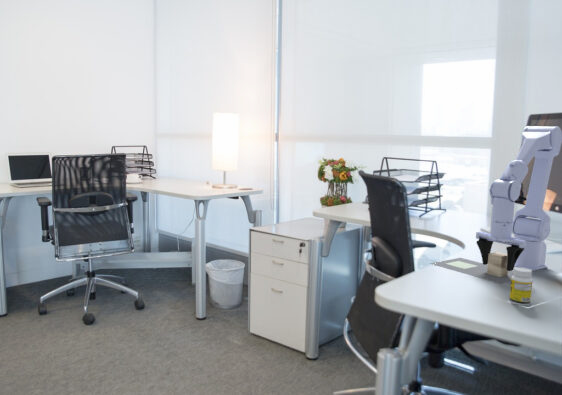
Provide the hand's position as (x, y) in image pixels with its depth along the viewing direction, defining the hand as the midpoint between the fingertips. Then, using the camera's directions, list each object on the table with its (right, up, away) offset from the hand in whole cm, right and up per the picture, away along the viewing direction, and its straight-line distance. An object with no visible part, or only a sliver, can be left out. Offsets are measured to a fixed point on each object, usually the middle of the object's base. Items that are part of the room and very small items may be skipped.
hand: (497, 267), depth 143 cm
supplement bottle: (-5, -6, -24) cm, 25 cm away
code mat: (-3, -2, +5) cm, 6 cm away
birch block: (0, -2, 0) cm, 2 cm away
